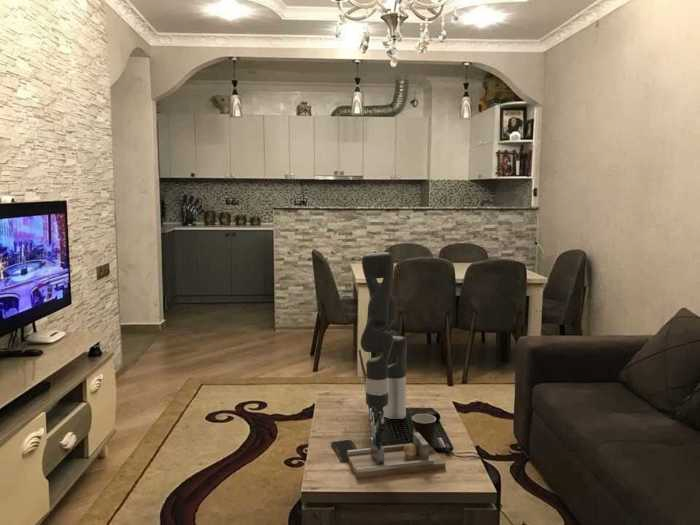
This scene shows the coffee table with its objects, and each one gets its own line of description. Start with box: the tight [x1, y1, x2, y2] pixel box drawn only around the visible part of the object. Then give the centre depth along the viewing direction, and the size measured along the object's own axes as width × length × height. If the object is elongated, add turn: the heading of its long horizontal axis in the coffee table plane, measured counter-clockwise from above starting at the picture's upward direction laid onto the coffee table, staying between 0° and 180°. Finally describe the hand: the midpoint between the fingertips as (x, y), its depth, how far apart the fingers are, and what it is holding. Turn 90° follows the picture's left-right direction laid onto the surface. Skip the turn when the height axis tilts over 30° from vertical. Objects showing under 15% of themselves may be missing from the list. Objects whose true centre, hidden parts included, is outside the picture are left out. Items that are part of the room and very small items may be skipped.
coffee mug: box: [411, 413, 437, 445], centre depth 217 cm, size 12×9×10 cm
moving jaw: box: [369, 421, 384, 465], centre depth 199 cm, size 10×3×13 cm, turn 13°
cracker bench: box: [347, 432, 446, 480], centre depth 201 cm, size 15×30×8 cm, turn 103°
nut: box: [404, 442, 417, 459], centre depth 202 cm, size 4×4×4 cm
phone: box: [330, 439, 358, 463], centre depth 211 cm, size 8×1×15 cm
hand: (377, 439), depth 199 cm, fingers closed on moving jaw, 3 cm apart
